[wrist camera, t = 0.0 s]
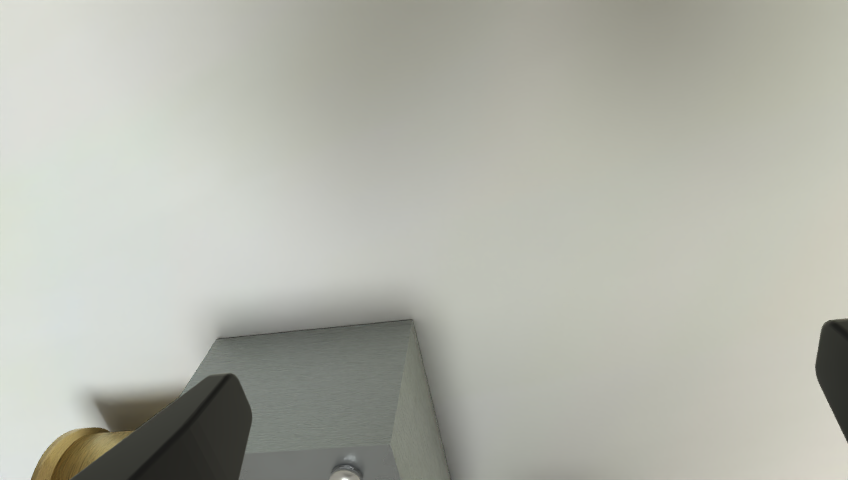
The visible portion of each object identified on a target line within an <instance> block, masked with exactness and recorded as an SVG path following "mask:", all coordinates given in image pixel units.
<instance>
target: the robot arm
mask: <svg viewBox="0 0 848 480" xmlns="http://www.w3.org/2000/svg"><path fill="white" fill-rule="evenodd" d="M815 369H816V376H817V379H818V382H819V384H820V386H821V388H822V390H823V393H824V395H825V397H826V399H827V401H828V403H829V405H830V407H831V409H832V411H833V413H834V415H835V418H836V420H837V422H838V424H839V426H840V428H841V430H842V432H843V434H844V436H845V438H846V441H847V443H848V319H836V320H829V321H827V322H825V323H824V325H823V326H822V329H821V334H820V340H819V346H818V352H817V358H816V365H815ZM251 425H252V410H251V407H250V404H249V402H248V400H247V397H246V395H245V393H244V390H243V388H242V386H241V384H240V381H239V379H238V377H237V376H236V375H235V374H233V373H220V374H212V375H209V376H207V377H206V378H204V379H203V380H202V381H200V382H199V383H198V384H196V385H195V386H194V387H192V388H191V389H190V390H188V391H187V392H186V393H184V394H183V395H182V396H180V397H179V398H178V399H176V400H175V401H174V402H172V403H171V404H170V405H168V406H167V407H166V408H164V409H163V410H162V411H160V412H159V413H158V414H156V415H155V416H154V417H152V418H151V419H150V420H148V421H147V422H146V423H144V424H143V425H142V426H140V427H139V428H138V429H136V430H135V431H134V432H132V433H131V434H130V435H128V436H127V437H126V438H124V439H123V440H122V441H120V442H119V443H118V444H116V445H115V446H114V447H112V448H111V449H110V450H108V451H107V452H106V453H104V454H103V455H102V456H100V457H99V458H98V459H96V460H95V461H94V462H92V463H91V464H90V465H88V466H87V467H86V468H84V469H83V470H82V471H80V472H79V473H78V474H76V475H75V476H74V477H72V478H71V479H70V480H239V476H240V472H241V468H242V463H243V459H244V455H245V450H246V446H247V442H248V438H249V433H250V429H251Z"/></svg>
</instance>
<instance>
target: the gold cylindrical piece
mask: <svg viewBox="0 0 848 480" xmlns="http://www.w3.org/2000/svg"><path fill="white" fill-rule="evenodd" d="M134 431H135V430H134ZM134 431H120V432H109V431H108V430H105V429H102V428H95V427H94V428H81V429H75V430H71V431H69V432H67V433H65V434H63V435H61V436H60V437H59V438H57V439H56V440H55V441H54V442H53V443H52V444H51V445H50V446H49V447H48V448H47V450H46V451H45V452H44V454H43V455H42V457H41V458H40V460H39V462H38V464H37V466H36V468H35V470H34V473H33V475H32V478H31V480H70V479H71V478H72V477H74V476H75V475H76V474H78V473H79V472H80V471H82V470H83V469H84V468H86V467H87V466H88V465H90V464H91V463H92V462H94V461H95V460H96V459H98V458H99V457H100V456H102V455H103V454H104V453H106V452H107V451H108V450H110V449H111V448H112V447H114V446H115V445H116V444H118V443H119V442H120V441H122V440H123V439H124V438H126V437H127V436H128V435H130V434H131V433H132V432H134Z"/></svg>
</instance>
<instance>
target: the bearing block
mask: <svg viewBox="0 0 848 480" xmlns="http://www.w3.org/2000/svg"><path fill="white" fill-rule="evenodd" d="M220 373H233V374H235V375H236V376H237V377H238V379H239V381H240V384H241V386H242V388H243V390H244V393H245V395H246V397H247V400H248V402H249V404H250V407H251V410H252V425H251V429H250V433H249V438H248V442H247V446H246V450H245V455H244V459H243V463H242V468H241V472H240V476H239V480H451V478H450V474H449V470H448V466H447V462H446V457H445V453H444V449H443V445H442V441H441V437H440V432H439V428H438V424H437V420H436V416H435V411H434V407H433V403H432V399H431V395H430V391H429V386H428V382H427V378H426V374H425V370H424V366H423V361H422V357H421V353H420V349H419V345H418V341H417V336H416V332H415V328H414V324H413V320H405V321H395V322H385V323H375V324H365V325H354V326H344V327H334V328H324V329H314V330H304V331H294V332H284V333H274V334H264V335H254V336H243V337H233V338H223V339H216V341H215V343H214V344H213V346H212V347H211V349H210V350H209V352H208V353H207V355H206V356H205V358H204V360H203V361H202V363H201V364H200V366H199V367H198V369H197V370H196V372H195V374H194V375H193V377H192V378H191V380H190V381H189V383H188V384H187V386H186V387H185V389H184V391H183V392H182V394H181V395H180V396H182V395H183V394H184V393H186V392H187V391H188V390H190V389H191V388H192V387H194V386H195V385H196V384H198V383H199V382H200V381H202V380H203V379H204V378H206V377H207V376H209V375H212V374H220Z"/></svg>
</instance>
